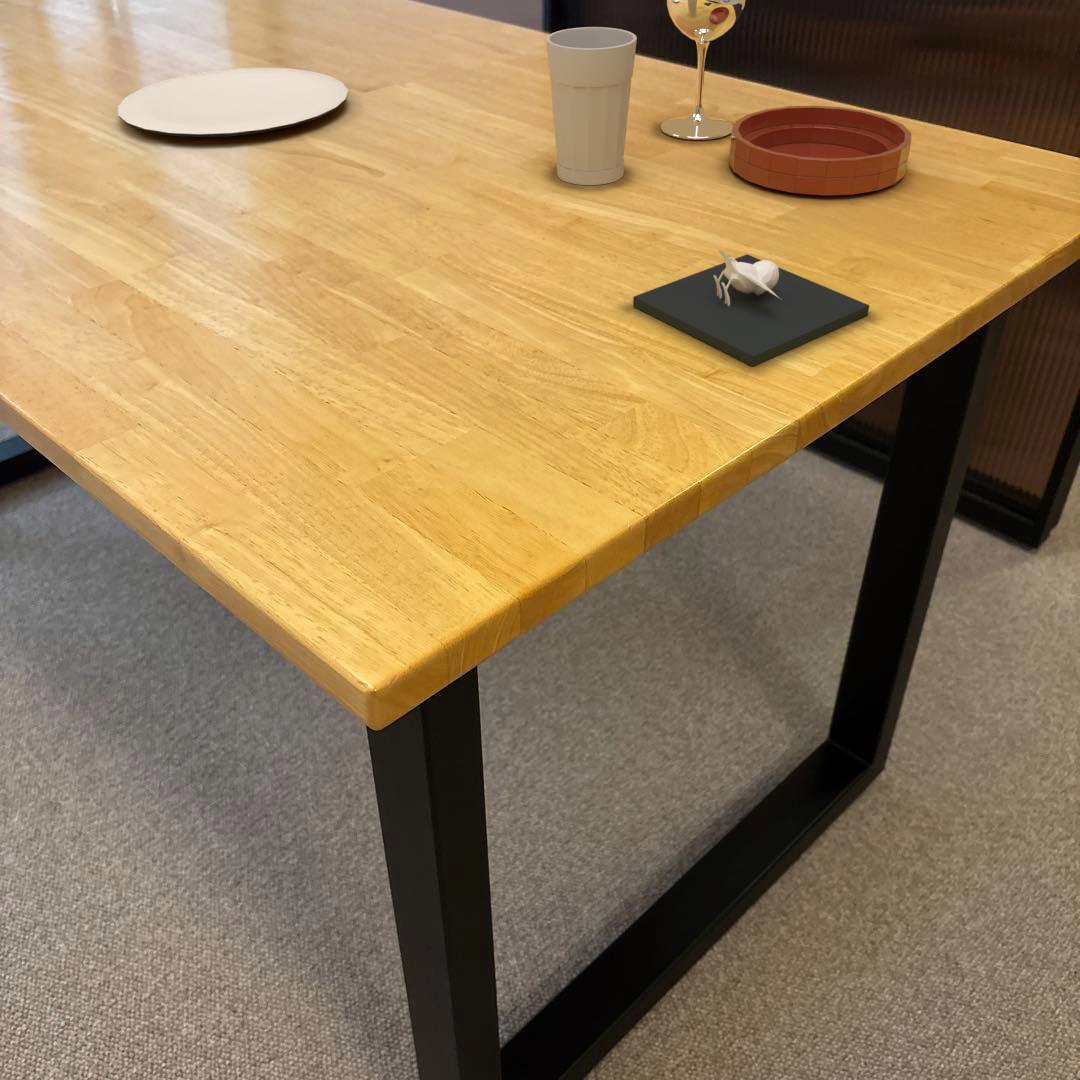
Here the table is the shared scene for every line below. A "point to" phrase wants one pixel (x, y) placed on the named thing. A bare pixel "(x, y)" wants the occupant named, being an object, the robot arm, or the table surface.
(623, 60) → the cup
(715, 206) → the table surface
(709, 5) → the wineglass
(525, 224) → the table surface
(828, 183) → the bowl
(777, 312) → the coaster
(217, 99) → the plate
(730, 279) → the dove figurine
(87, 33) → the table surface
